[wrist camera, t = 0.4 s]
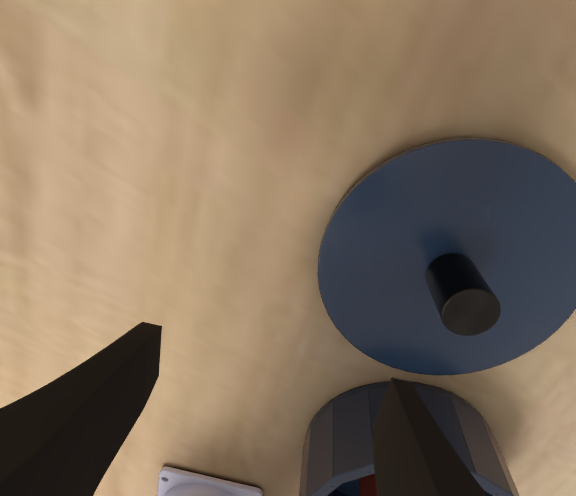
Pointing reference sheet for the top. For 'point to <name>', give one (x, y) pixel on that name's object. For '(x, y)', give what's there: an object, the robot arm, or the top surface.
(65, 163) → the top surface
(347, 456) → the pot
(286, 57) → the top surface
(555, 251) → the pot lid
